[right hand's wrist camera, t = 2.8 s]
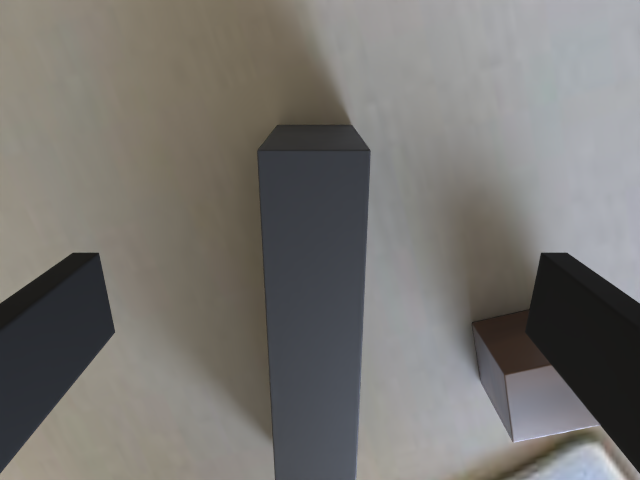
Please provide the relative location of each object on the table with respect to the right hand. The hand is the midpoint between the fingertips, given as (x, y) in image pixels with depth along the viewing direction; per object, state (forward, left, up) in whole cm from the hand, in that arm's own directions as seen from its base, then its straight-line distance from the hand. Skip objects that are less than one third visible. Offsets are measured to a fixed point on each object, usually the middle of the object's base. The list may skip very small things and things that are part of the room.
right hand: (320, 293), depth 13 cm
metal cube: (+10, +13, -12) cm, 20 cm away
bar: (+8, 0, -12) cm, 14 cm away
